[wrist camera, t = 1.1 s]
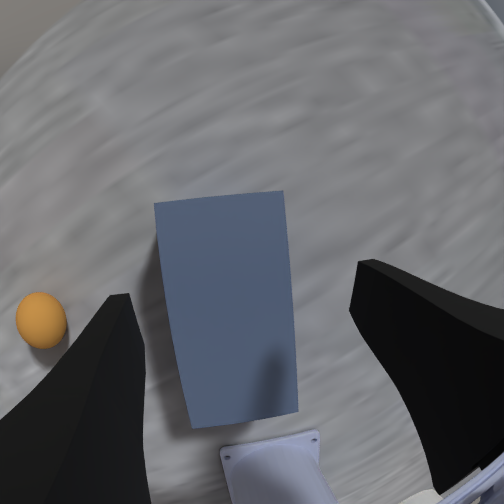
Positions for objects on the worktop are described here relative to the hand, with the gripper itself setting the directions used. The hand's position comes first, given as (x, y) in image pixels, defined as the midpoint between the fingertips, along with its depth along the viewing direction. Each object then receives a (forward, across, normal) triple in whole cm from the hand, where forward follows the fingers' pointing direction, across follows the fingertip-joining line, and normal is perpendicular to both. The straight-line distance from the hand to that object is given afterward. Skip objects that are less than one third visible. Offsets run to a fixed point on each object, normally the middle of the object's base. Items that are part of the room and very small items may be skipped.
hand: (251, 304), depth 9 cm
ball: (+7, +12, +5) cm, 15 cm away
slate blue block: (+8, 0, +6) cm, 10 cm away
